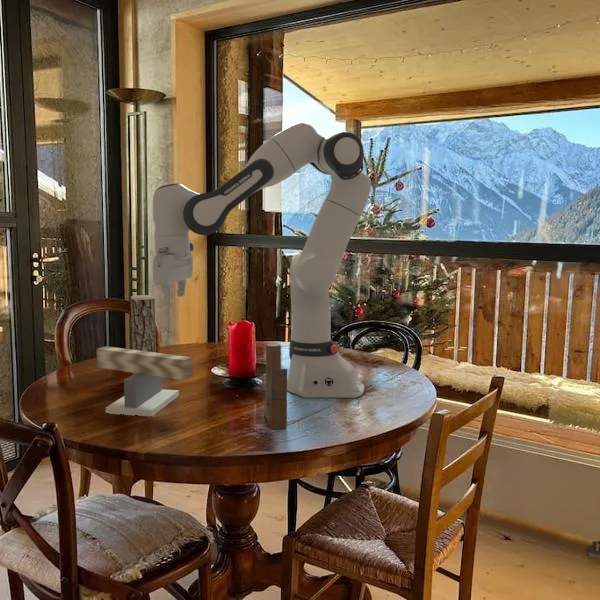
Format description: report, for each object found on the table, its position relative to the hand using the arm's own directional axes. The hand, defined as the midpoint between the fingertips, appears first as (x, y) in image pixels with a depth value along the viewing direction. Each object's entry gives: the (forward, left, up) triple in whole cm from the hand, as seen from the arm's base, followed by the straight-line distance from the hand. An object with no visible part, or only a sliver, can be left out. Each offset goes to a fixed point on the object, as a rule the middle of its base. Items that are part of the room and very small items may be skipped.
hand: (175, 298), depth 159 cm
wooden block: (-31, +16, -27) cm, 44 cm away
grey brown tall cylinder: (+15, -14, -27) cm, 34 cm away
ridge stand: (+5, +9, -27) cm, 29 cm away
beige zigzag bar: (+5, +9, -18) cm, 21 cm away
